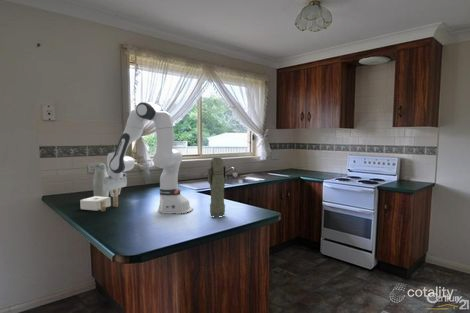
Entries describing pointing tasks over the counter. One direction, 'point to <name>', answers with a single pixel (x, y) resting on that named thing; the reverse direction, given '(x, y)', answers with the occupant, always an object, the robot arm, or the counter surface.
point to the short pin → (103, 206)
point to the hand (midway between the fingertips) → (115, 195)
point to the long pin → (115, 198)
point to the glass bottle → (99, 180)
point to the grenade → (217, 186)
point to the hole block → (94, 203)
